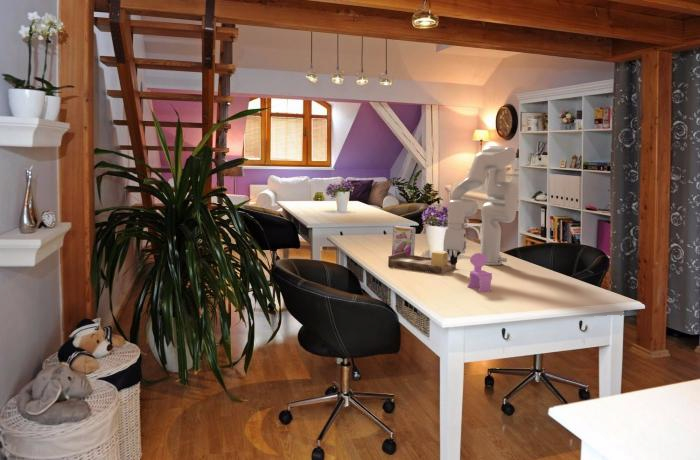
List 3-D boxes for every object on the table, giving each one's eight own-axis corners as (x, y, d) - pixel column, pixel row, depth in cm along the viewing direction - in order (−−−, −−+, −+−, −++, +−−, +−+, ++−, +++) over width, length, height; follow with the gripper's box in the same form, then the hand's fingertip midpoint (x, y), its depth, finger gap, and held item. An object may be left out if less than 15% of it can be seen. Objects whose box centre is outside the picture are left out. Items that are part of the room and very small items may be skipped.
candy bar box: (391, 257, 321) (392, 226, 319) (395, 255, 326) (397, 225, 323) (410, 259, 316) (411, 228, 313) (414, 258, 320) (415, 227, 318)
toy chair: (476, 292, 248) (479, 256, 246) (465, 287, 256) (467, 252, 254) (493, 291, 251) (496, 255, 249) (481, 286, 259) (483, 252, 257)
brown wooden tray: (455, 268, 297) (456, 258, 296) (441, 274, 282) (441, 263, 281) (404, 260, 311) (405, 251, 311) (388, 266, 296) (388, 256, 295)
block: (447, 264, 292) (448, 252, 292) (442, 266, 287) (443, 253, 287) (436, 262, 296) (436, 250, 295) (430, 264, 290) (431, 252, 290)
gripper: (473, 227, 284) (471, 265, 287) (443, 224, 292) (441, 261, 295) (467, 228, 278) (465, 267, 281) (437, 225, 286) (435, 263, 288)
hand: (453, 264), depth 288 cm, fingers closed
